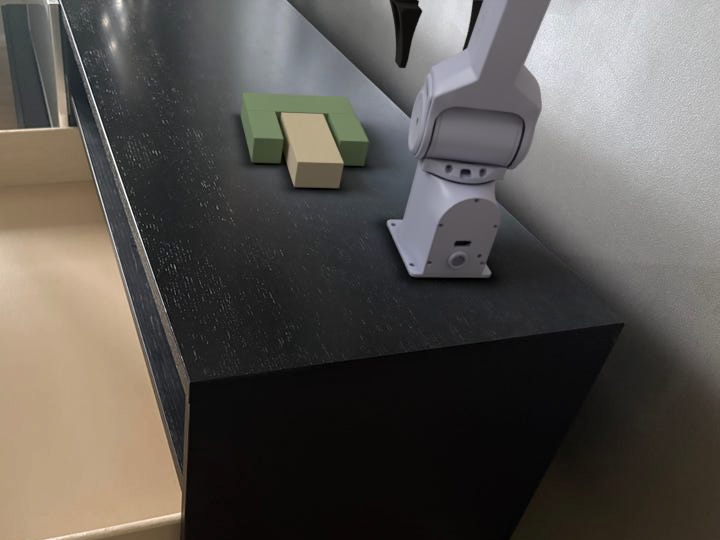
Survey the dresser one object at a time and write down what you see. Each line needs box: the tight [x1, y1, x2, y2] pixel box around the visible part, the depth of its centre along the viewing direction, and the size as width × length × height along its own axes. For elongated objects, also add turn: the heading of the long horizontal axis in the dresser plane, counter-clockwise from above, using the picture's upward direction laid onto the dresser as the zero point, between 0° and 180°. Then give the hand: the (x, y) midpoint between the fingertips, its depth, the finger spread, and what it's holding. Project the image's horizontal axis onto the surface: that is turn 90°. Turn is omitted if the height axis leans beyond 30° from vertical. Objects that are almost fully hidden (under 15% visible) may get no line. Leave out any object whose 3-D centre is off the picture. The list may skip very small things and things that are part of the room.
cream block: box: [280, 113, 345, 189], centre depth 85 cm, size 12×5×3 cm, turn 6°
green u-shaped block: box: [240, 92, 370, 167], centre depth 89 cm, size 12×13×3 cm
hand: (432, 66), depth 85 cm, fingers open, 7 cm apart
